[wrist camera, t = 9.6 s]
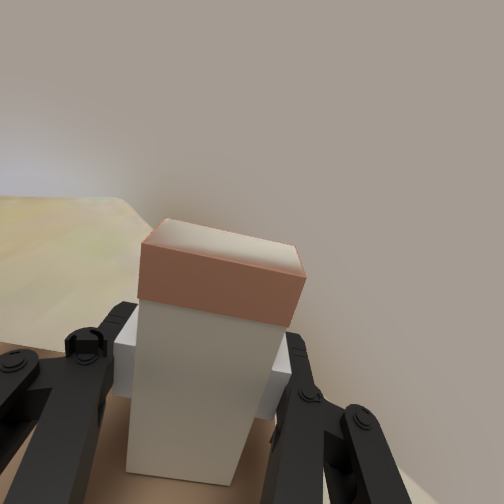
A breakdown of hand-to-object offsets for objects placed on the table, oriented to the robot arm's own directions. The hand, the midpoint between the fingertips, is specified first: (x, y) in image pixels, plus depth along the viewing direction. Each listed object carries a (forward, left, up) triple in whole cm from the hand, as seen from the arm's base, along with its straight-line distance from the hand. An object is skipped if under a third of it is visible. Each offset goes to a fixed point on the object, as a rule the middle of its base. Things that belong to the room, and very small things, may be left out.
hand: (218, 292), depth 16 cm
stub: (0, -5, -7) cm, 8 cm away
